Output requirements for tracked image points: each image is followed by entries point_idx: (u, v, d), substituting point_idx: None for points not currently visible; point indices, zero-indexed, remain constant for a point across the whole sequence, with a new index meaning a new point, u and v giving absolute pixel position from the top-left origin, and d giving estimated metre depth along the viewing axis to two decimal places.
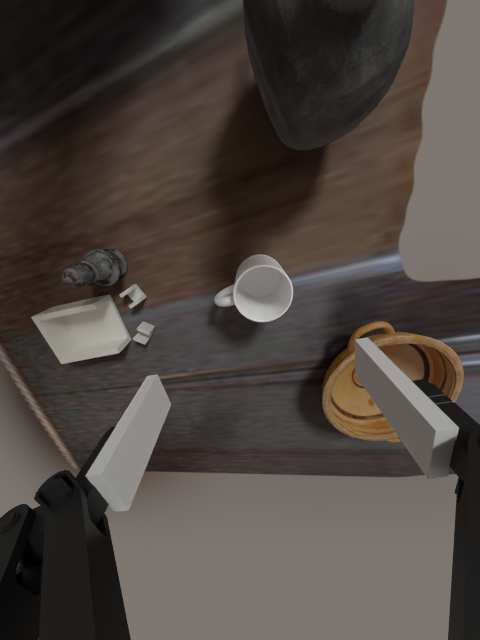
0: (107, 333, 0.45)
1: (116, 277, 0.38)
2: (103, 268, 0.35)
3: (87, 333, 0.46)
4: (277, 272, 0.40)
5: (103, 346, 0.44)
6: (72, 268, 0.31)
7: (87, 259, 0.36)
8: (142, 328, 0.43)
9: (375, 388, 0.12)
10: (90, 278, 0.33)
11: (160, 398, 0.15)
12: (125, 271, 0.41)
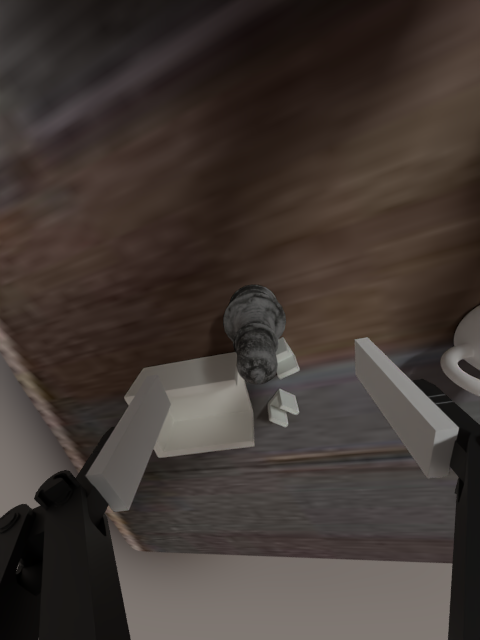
0: (221, 405, 0.30)
1: (277, 337, 0.22)
2: (271, 328, 0.20)
3: (190, 405, 0.30)
4: None
5: (222, 429, 0.28)
6: (262, 348, 0.15)
7: (236, 309, 0.20)
8: (287, 405, 0.27)
9: (375, 388, 0.12)
10: None
11: (160, 398, 0.15)
12: None
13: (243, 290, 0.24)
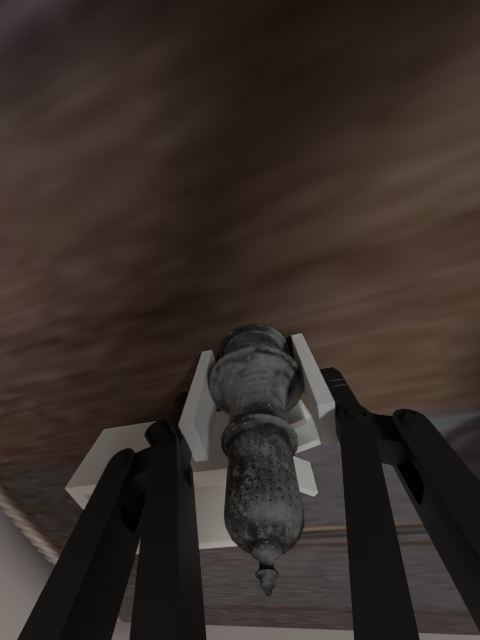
0: None
1: (290, 407, 0.14)
2: (284, 405, 0.12)
3: None
4: None
5: (211, 513, 0.21)
6: (275, 494, 0.07)
7: (228, 371, 0.13)
8: (301, 483, 0.20)
9: None
10: None
11: None
12: None
13: (240, 332, 0.16)
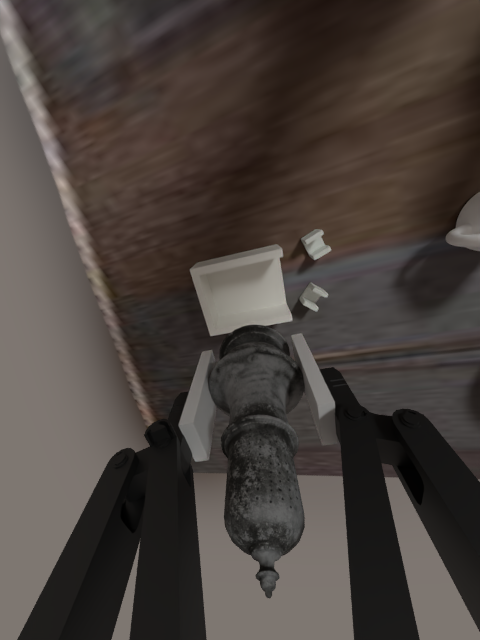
0: (260, 298, 0.35)
1: (291, 408, 0.14)
2: (284, 406, 0.12)
3: (234, 298, 0.36)
4: None
5: (263, 314, 0.34)
6: (275, 495, 0.07)
7: (229, 371, 0.13)
8: (319, 289, 0.33)
9: None
10: None
11: None
12: None
13: (240, 333, 0.16)
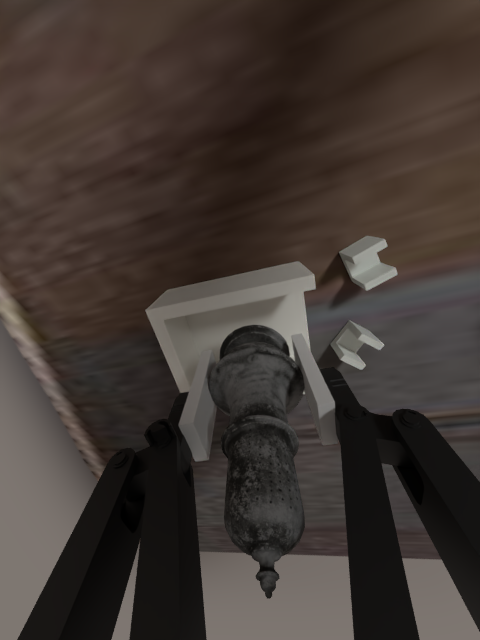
0: None
1: (291, 408, 0.14)
2: (284, 406, 0.12)
3: None
4: None
5: None
6: (275, 495, 0.07)
7: (229, 372, 0.13)
8: (368, 335, 0.20)
9: None
10: None
11: None
12: None
13: (240, 333, 0.16)
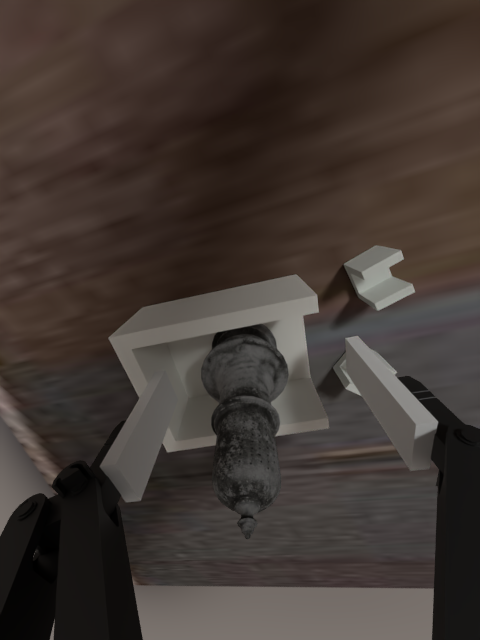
0: None
1: (276, 394, 0.16)
2: (269, 390, 0.14)
3: None
4: None
5: None
6: (255, 458, 0.09)
7: (219, 361, 0.14)
8: None
9: (364, 385, 0.13)
10: None
11: (168, 393, 0.15)
12: None
13: None
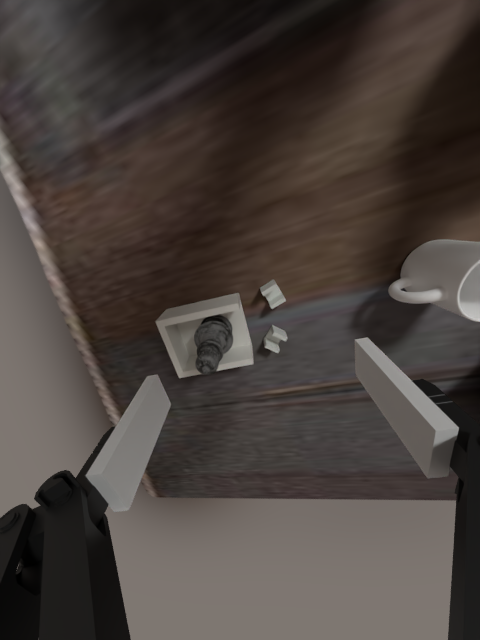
0: None
1: (228, 348, 0.34)
2: (222, 343, 0.32)
3: None
4: None
5: (228, 356, 0.36)
6: (208, 355, 0.27)
7: (201, 331, 0.33)
8: (278, 333, 0.35)
9: (375, 388, 0.12)
10: (219, 360, 0.29)
11: (160, 398, 0.15)
12: None
13: (208, 318, 0.36)
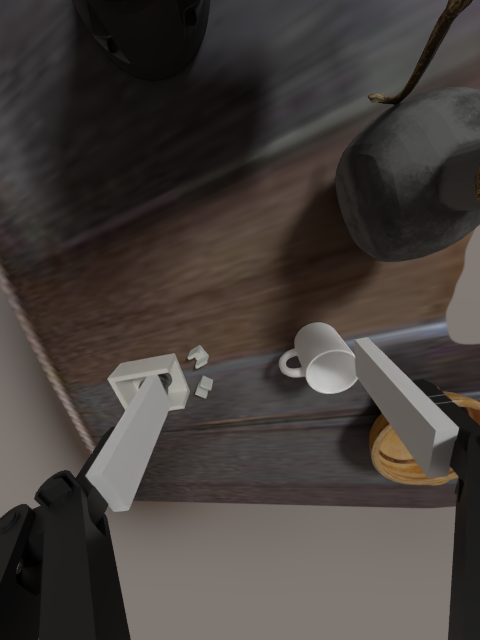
0: None
1: None
2: None
3: None
4: None
5: None
6: None
7: None
8: (204, 384, 0.46)
9: (375, 388, 0.12)
10: None
11: (160, 398, 0.15)
12: (170, 383, 0.49)
13: None
